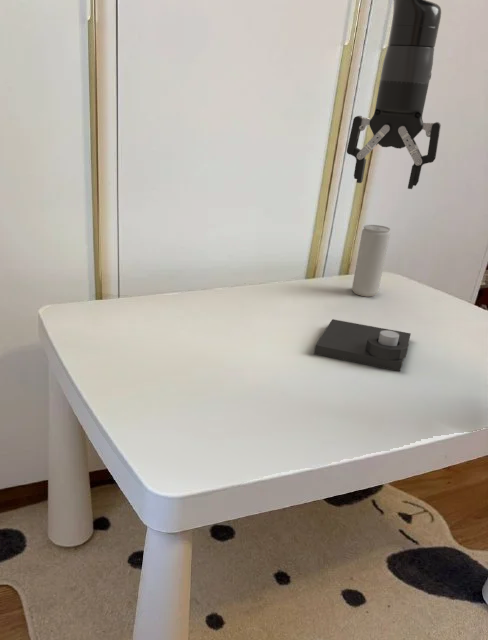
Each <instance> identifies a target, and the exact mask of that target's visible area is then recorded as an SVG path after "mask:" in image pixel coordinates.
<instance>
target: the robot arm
mask: <svg viewBox="0 0 488 640" xmlns="http://www.w3.org/2000/svg"><path fill="white" fill-rule="evenodd" d="M392 5H393V6H392V7H393V9H392V10H393V11H392V19H391V27H390V31H389V36H388V43H387V45H388V46H387V47H386V52H385V55H384V58H383V62H382V63H383V64H382V67H381V74H380V79H379V85H378V91H377V97H376V101H375V108H374V112H373V115H372V117H371V118H369V117H363V116H362V115H356V116H354V118H353V120H352V124H351V129H350V134H349V137H348V143H347V147H346V153H347V155H350V156H352V157H354V159H355V164H354V165H355V166H354V172H353V179H354V180H356V183H357V184H362V183H363V181H364V175H365V168H366V163H367V158H366V157H367V156H368V155H369V154H370V153H371V151H373V149H375V147H377V146H378V145H379V146H381V148H391V147H392V148H394V149H400V150H401V149H403V148H406V150H407V152H408V153H409V155H410V156H411V157H410V158H411V160H412V161H413V164H412V166H411V170H410V175H409V180H408V185H407V189H408V190H413V189H414V187H416V186H417V184H418V183H419V181H420V176H421V173H422V172H421V171H422V167H423V166H424V165H426V164H430V163H433V162H435V160H436V157H437V151H438V144H439V139H440V133H441V126H442V125H441V123H440V122H439V121H436V122H424V121H423V120H424V119H423V113H424V110H425V109H424V108H425V105H426V100H427V95H428V89H429V85H430V80H431V79H432V70H433V65H434V54H435V47H436V42H437V38H438V33H439V28H440V24H441V17H442V8H441V6H440V5H439V4H437V3H435V2H433V1H430V0H393V4H392ZM367 126H369V128H370V130H371V132H372V134H373V137H371V138H370V139H369V140H368V141H367V142H366V144H365V145H364V146H363V147H362V148H361V149H360V148H358V145H359V144H358V143H359V140H360V136H361V132H363V131H364V130H366V128H367ZM422 130H424V132H425V136H426V137H428V138H429V143H428V148H427V153H426V154H425V155H423V154H422V152H421V151H420V149H419V146H418V144H417V141H416V140H415V138H416V137H417V136H418V135H419V134H420V133H421V132H422Z"/></svg>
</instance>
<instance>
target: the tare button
mask: <svg viewBox="0 0 488 640" xmlns="http://www.w3.org/2000/svg"><path fill="white" fill-rule="evenodd" d="M389 330H390V329H389ZM389 330H384V331H381V332H380V335H379V340H378V343H380V344H382V345H386V346H397V344H398V339H399V334H398V333H396V332H394V331H389Z"/></svg>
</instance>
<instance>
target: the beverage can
mask: <svg viewBox="0 0 488 640" xmlns="http://www.w3.org/2000/svg"><path fill="white" fill-rule="evenodd" d="M390 231H391V228H390V227H387V226H385V225H377V224H365V225H364V226H363V229H362V230H361V235H360V241H359V245H358V246H359V247H358V251H357V258H356V264H355V268H354V273H353V281H352V285H351V289H352V292H353V293H354V294H355V295H357V296H362V297H375V296H376V295H377V294H378V293H379V292H380V291H379V290H380V285H381V280H382V275H383V271H384V266H385V261H386V256H387V252H388V246H389V241H390V237H391V232H390Z"/></svg>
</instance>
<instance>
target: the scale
mask: <svg viewBox="0 0 488 640" xmlns="http://www.w3.org/2000/svg"><path fill="white" fill-rule="evenodd" d="M384 330H389V331H394V332H396V333H398V334H399V339H398V344H397V346H386V345H382V344H380V343H378V340H379V335H380V332H381V331H384ZM410 339H411V333H410V332H405V331H401V330H400V331H399V330H394V329H390V328H389V329H388V328H383V327H378V326H373V325H367V324H361V323H356V322H350V321H344V320H339V319H334V318H333V319H331V321H330V322H329V323H328V325H327V327H326V328H325V330H324V331H323V333H322V334H321V336H320V337H319V339H318V341H317V342H316V343H315V346H314V353H313V354H314V355H317V356H322V357H327V358H332V359H337V360H340V361H341V360H342V361H347V362H351V363H357V364H362V365H367V366H372V367H375V368H382V369H387V370H392V371H397V372H401V369H402V367H403V363H404V359H406V357H407V353H408V350H409V349H408V348H409V345H410V343H409V342H410Z"/></svg>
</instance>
